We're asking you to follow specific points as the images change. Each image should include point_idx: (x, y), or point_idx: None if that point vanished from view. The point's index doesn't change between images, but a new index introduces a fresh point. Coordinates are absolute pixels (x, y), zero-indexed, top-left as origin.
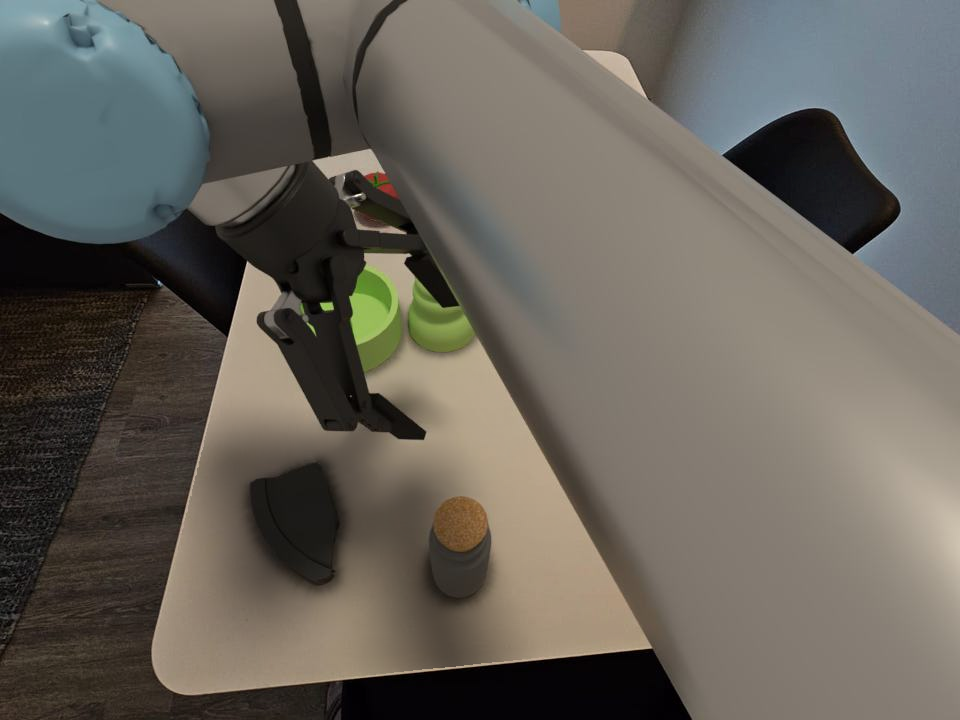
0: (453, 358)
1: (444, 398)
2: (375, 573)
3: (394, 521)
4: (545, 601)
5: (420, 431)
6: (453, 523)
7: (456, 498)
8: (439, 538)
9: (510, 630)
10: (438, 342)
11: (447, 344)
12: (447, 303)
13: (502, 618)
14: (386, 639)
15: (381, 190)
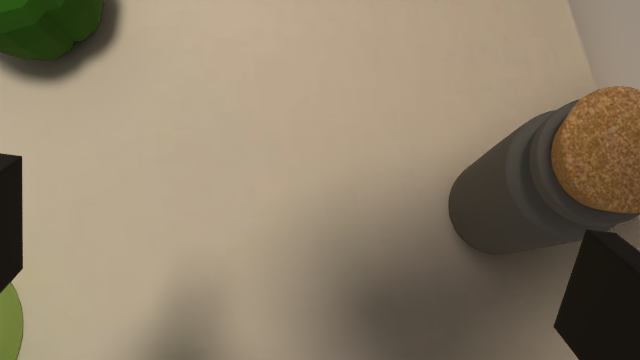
0: (38, 290)
1: (148, 293)
2: (531, 355)
3: (432, 342)
4: (516, 62)
5: (617, 244)
6: (634, 163)
7: (572, 166)
8: None
9: None
10: (3, 330)
11: (6, 308)
12: (10, 243)
13: None
14: None
15: None
